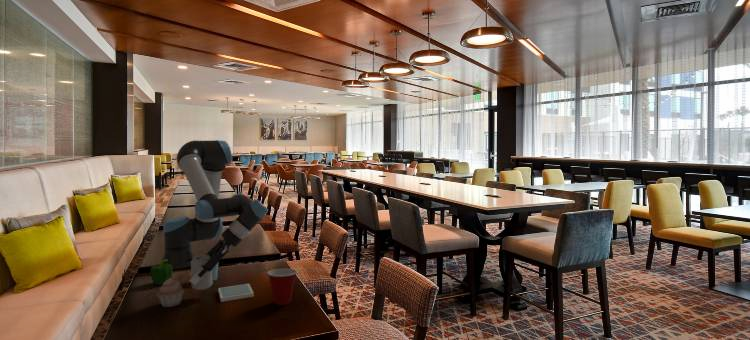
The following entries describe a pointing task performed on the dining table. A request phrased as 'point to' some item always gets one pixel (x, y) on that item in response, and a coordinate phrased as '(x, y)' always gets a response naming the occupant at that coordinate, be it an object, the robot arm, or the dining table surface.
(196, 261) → the can
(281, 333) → the dining table surface
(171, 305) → the cupcake
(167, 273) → the bell pepper
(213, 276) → the cup
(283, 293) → the plastic cup
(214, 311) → the dining table surface
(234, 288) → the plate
